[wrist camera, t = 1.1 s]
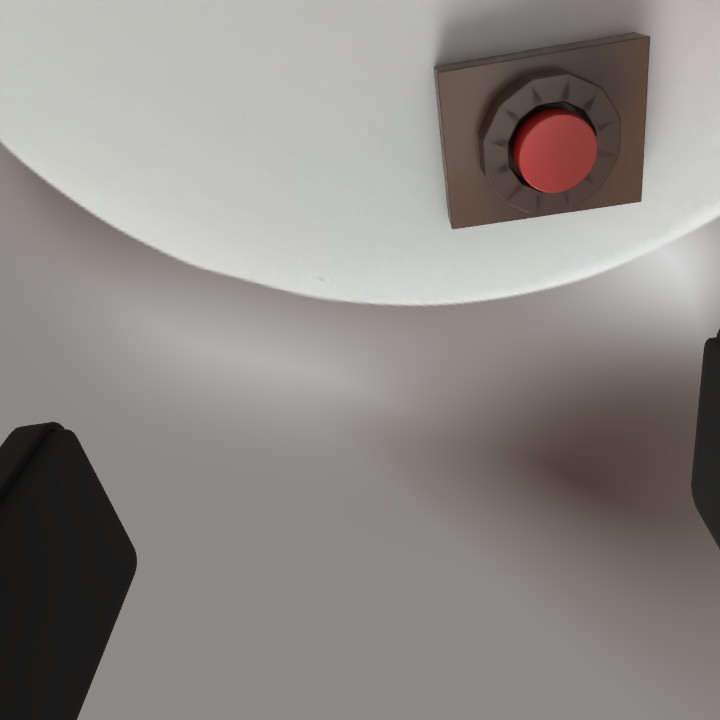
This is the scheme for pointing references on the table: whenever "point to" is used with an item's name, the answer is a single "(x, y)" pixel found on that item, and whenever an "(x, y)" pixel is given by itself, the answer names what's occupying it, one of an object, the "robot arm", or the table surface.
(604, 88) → the button block
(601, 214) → the table surface
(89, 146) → the table surface
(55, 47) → the table surface
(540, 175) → the red button
